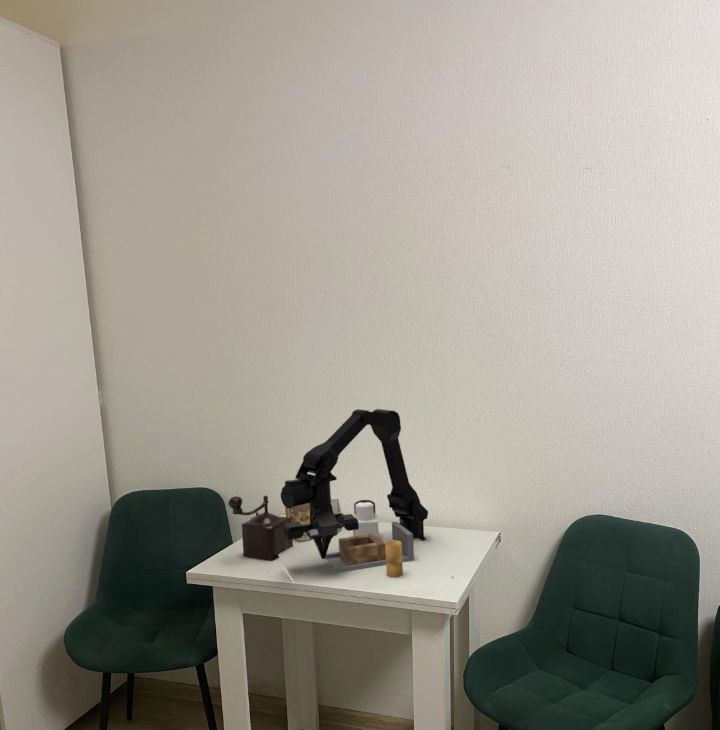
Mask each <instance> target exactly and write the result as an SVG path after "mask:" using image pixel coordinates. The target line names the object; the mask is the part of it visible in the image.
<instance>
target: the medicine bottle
mask: <svg viewBox="0 0 720 730" xmlns="http://www.w3.org/2000/svg"><path fill="white" fill-rule="evenodd" d="M353 509H354V510H353V511H354V512H353V513H354V515H353V516H354V517H355V518H356V519H357V520H358V523H359V529H358V530H352V532H353V535H352V536H353V537H354V536H360V535H367V534H375V535H376V536H377V537H378V538H379V539H380V536H379V520H378V514H376V503H375V502H374V501H373V500H370V499H361V500H358V501H355V502H354V503H353Z"/></svg>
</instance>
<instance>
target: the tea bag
mask: <svg viewBox="0 0 720 730" xmlns="http://www.w3.org/2000/svg"><path fill="white" fill-rule="evenodd" d="M331 505H332V509H333V513H334V514H340V513H342V510H341V505H340V501H339V499H338V498H331ZM342 530H343V527H342V528H340V529H337V533H338V534H339V533H340V532H341V531H342Z"/></svg>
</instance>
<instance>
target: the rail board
mask: <svg viewBox="0 0 720 730" xmlns="http://www.w3.org/2000/svg"><path fill="white" fill-rule="evenodd" d="M399 523H400V522H398V521H392V522H391V532H392V533H391V535H392V540H397V541H400V542H401V545H402V563H407V562H412V561H415V553H414V549H415V548H414V539H413V534H412V533H411V532H410V531H408V530H407V529H406V528H404V527H403V526H402V525H401V524H399ZM385 550H386V547H385ZM324 560H326V561H327V563H329V565H330V566H331V568H332V569H333V570H334V571H335V572H336V573H337V574H339V573H345V572H346V573H347V572H351V571H357V570H358V571H359V570H364V569H369V568H376V567H382V566H386V560H380V561H374V562H368V563H362V564H355V565H349V566H347V565H346V564H345V563H344V561H343V560H342V559H341V558H340V556H339V551H335V552H330V553H328V552H327V554H326V557H325V559H324Z"/></svg>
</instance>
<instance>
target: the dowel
mask: <svg viewBox="0 0 720 730" xmlns="http://www.w3.org/2000/svg"><path fill="white" fill-rule="evenodd" d="M384 543H385V547H386V565H385V566H386V567H385V568H386V576H387V577H389V578H400V577H402V576H403V575H404V568H403V562H402V545H401V542H400V541H397V540H393V539H392V540H388V541H386V542H384Z"/></svg>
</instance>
